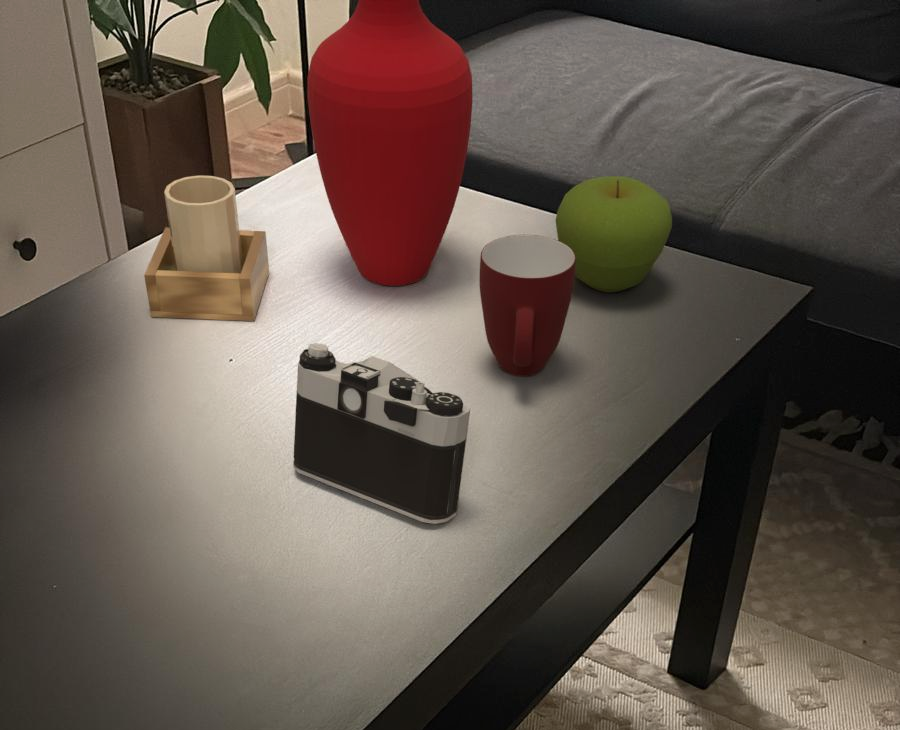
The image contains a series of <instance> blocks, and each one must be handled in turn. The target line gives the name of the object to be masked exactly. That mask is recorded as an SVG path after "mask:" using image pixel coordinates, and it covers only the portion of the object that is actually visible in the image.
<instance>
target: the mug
mask: <svg viewBox="0 0 900 730" xmlns="http://www.w3.org/2000/svg"><path fill="white" fill-rule="evenodd" d="M479 257H480V258H479V277H478V280H479V284H478V285H479V294H480V302H481V308H482V316H483V317H482V318H483V323H484V330H485V336H486V341H487V344H488V346H489V349H490V351H491V353H492V355H493V357H494V358H495V360H496V362H497V364H498V366H499V367H500V369H501V370H502V371H503V372H505V373H507V374H508V375H512V376H514V377H515V376H517V377H531V376H533V375H536V374H538V373H540V372H541V371H542V370H543V369H544V368H545V366H546V365H547V363H548V362H549V360H550V359H551V357H552V356H553V354H554V353H555V351H556V349H557V348H558V346H559V343H560V342H561V341H560V340H561V337H562V334H563V330H564V328H565V327H564V326H565V323H566V319H567V315H568V311H569V308H570V304H571V300H572V297H573V293H574V288H575V285H574V284H575V277H576V276H575V264H576V257H575V254H574V252H573V251H572V249H571V248H570V247H568V246H567V245H566V244H564V243H562V242H560V241H558V239H556V238H555V239H554V238H552V237H548V236H544V235H537V234H513V235H512V234H511V235H507V236H502V237H498V238H496V239H494V240H492V241H490V242H488V243H487V244H485V245H484V246H483V248H482V249H481V251H480V256H479Z"/></svg>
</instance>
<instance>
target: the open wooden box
mask: <svg viewBox="0 0 900 730" xmlns="http://www.w3.org/2000/svg"><path fill="white" fill-rule="evenodd" d="M239 232H240V242H241V251H242V260H243V269H242V272H241V274H240V273H215V272H189V271H176V268H175V262H174V255H173V248H172V241H171V235H170V228H169V227H164V229H163V232H162V234H161V236H160V238H159V240H158V242H157V245H156V247H155V250H154V252H153V254H152V256H151V258H150V261H149V262H148V266H147V267H146V270H145V272H144V274H143V277H144V282H145V283H144V284H145V288H146V293H147V295H146V296H147V300H148V305H149V313H150V318H164V319H165V318H169V319H191V320H194V319H195V320H214V321H215V320H216V321H217V320H218V321H241V322H242V321H243V322H255V319H256V317H257V313H258V311H259V307H260V303H261V300H262V297H263V294H264V291H265V288H266V285H267V284H266V283H267V281H268V277H269V275H270V267H269V266H270V265H269V254H268V244H267V233H266V230H243V229H242V230H241V229H239Z"/></svg>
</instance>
